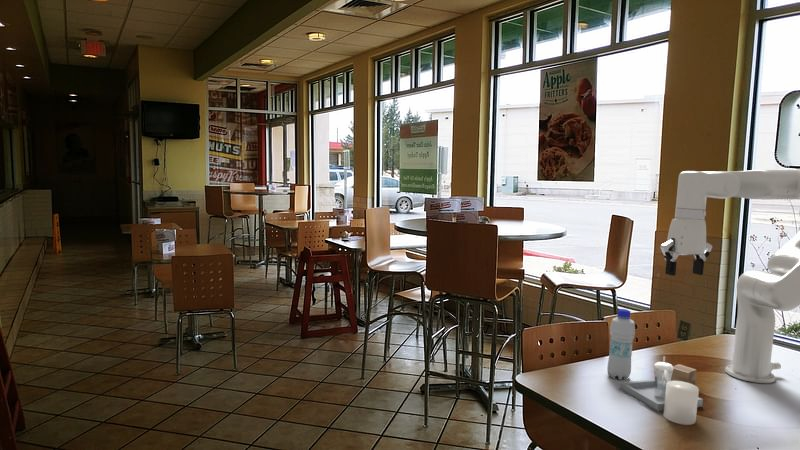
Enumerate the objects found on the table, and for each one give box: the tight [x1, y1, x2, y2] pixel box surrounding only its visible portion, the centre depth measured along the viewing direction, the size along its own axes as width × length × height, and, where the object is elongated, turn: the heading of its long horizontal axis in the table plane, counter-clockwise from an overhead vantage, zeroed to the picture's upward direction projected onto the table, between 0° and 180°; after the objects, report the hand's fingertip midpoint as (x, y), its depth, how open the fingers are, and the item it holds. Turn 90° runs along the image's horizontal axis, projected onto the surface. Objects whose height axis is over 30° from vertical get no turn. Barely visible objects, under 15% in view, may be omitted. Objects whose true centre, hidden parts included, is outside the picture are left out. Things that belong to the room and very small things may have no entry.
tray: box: [619, 378, 704, 413], centre depth 147 cm, size 14×14×2 cm
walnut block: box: [671, 363, 698, 386], centre depth 156 cm, size 5×5×5 cm
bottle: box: [606, 308, 636, 381], centre depth 160 cm, size 7×7×20 cm
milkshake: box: [653, 355, 674, 399], centre depth 146 cm, size 5×5×10 cm
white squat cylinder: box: [663, 381, 700, 426], centre depth 135 cm, size 7×7×8 cm
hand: (684, 274), depth 160 cm, fingers open, 9 cm apart
